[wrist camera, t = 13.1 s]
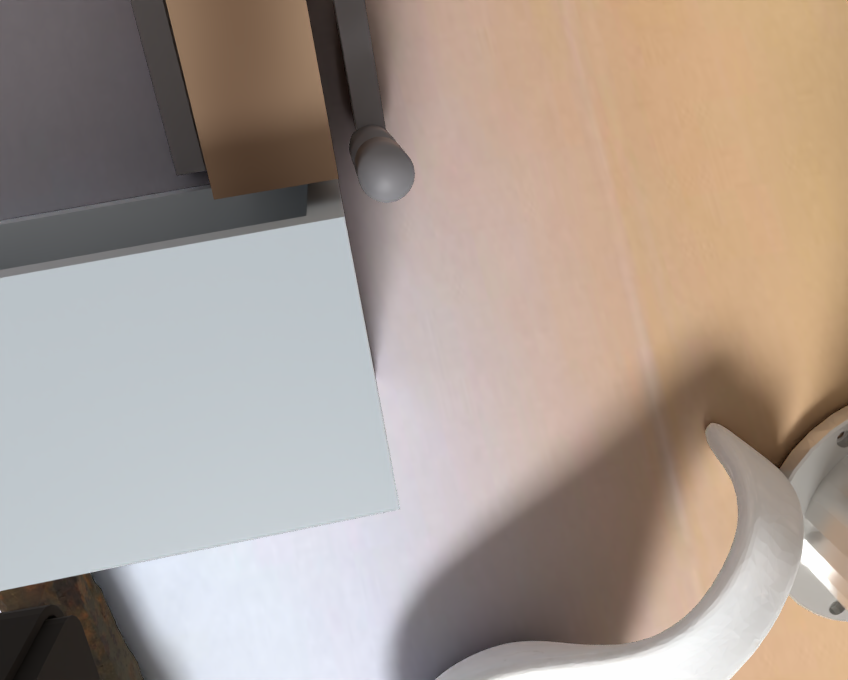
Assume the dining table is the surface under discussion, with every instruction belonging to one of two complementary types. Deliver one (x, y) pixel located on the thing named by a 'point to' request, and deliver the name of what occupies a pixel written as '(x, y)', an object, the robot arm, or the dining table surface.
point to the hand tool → (81, 620)
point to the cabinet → (191, 354)
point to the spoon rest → (710, 619)
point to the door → (254, 93)
